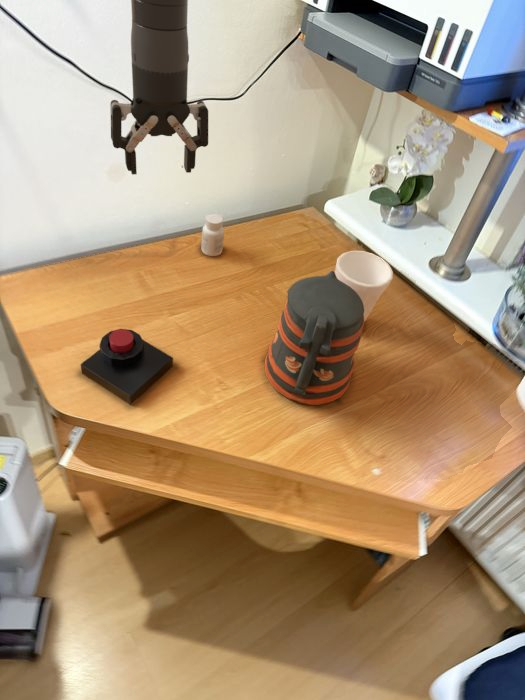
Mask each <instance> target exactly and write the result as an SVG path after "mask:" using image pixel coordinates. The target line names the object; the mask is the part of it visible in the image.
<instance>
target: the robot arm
mask: <svg viewBox="0 0 525 700" xmlns="http://www.w3.org/2000/svg"><path fill="white" fill-rule="evenodd" d="M130 3H131V31H130V54H131V77H132V100H131V102H130V103H122V102H119V101H118V100H117V99H112V100H111V101H110V139H111V141H112V146H113V148H115V149H122V150H124V159H125V160H124V161H125V166H126V169H127V171H128V172H130V173H131V175H133V176H134V175H137V152H136V148H137V147H138V145H139V144H140V143H142V142H143V141H144V140H145V138H146V137H147V136H148V135H150V136H151V137H159V136H164V137H173V135H175V134H177V135H178V137H179V139H180V140H181V141H182V142H183V143H184V147H183V148H184V151H183V152H184V153H183V168H184V171H185V173H186V174H187V173H189V174H190V173H192V170H194V169H195V167H196V158H197V157H196V153H197V149H198V148H201V147H203V148H206V147H207V146H209V109H208V107H207V106H206V105H207V104H205V102H204V101H203V100H198V101H197V102H196V103H190V104H189V103H188V79H189V78H188V77H189V76H188V74H189V73H188V71H189V61H190V55H189V35H188V34H189V33H188V13H189V11H188V9H189V7H188V5H189V0H130ZM129 114H131V115H132V117H133V118H134V119H135V121H134V122H133V123H132V125H131V127H130V130H129V131H128V132H127V134H126V136H123V135H122V121H126V119H127V116H128V115H129ZM190 115H192V117H193V119H194V120H195V121H196V134H195V135H193V136H192V135H191V134H190V132H189V131H188V130H187V128H186V126H185V125H184V123H185V122H186V120H187V119H188V117H189V116H190Z"/></svg>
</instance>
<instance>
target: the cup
mask: <svg viewBox="0 0 525 700" xmlns="http://www.w3.org/2000/svg"><path fill="white" fill-rule="evenodd" d="M334 272H335V275H336V277H337V279H338V280H340V281H341V282H343V283H345V284H346V285H348V286H349V287H351V288H352V289H353V290H354V291H356V293H357V294H358V295H359V296H360V298H361V300H362V302H363V305H364V320H365V321H364V323H365V322H366V320H367V319H368V317H369V315H370V314H371V312H372V311H373V309H374V307H375V306H376V304H377V302H378V300H379V299H380V297H381V295H382V294H383V293H384V291H386V290H387V288H388V287H389V286H390V284H391V282H392V281H393V277H394V271H393V269H392V267H391V266H390V264H389V263H388V262H387V261H386V260H384V259H383V258H382V257H381V256H378V255H377V254H375V253H371V252H368V251H364V250H350V251H346V252H343V253H342V254H340V255H339V256H338V257H337V259H336V264H335V268H334Z"/></svg>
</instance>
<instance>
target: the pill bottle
mask: <svg viewBox="0 0 525 700" xmlns="http://www.w3.org/2000/svg"><path fill="white" fill-rule="evenodd" d="M223 225H224V218H223V217H222V216H221V215H220V214H218V213H209V214H207V215H206V216H205V221H204V225H203V227H202V229H201V232H202V233H201V246H200V248H201V249H200V250H201V252H202V253H203V255H205V256H208V257H218V256H220V255H221V254H222V252H223V248H224V240H225V239H224V238H225V229H224V226H223Z"/></svg>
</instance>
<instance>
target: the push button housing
mask: <svg viewBox="0 0 525 700" xmlns="http://www.w3.org/2000/svg"><path fill="white" fill-rule="evenodd" d="M121 329H123V330H127V331H130V332H131V333H132V335H133V341H134V346H133V348H132V350H131V351H129V352H127V353H123V354H121V353H116V352H114V351H112V349H111V348H110V341H109V337H110V335H111V333H112V332H114V331H116V330H121ZM173 366H174V358H173V356H171V355H169V354H167V353H166V352H164V351H163V350H161V349H160V348H158V347H156V346H154V345H152V344H151V343H149V342H147V341H146V340H144V339H143V338H142V336H141V335H140V333H138V332H136V331H134V330H133V329H127V328H119V329H114V330H110V331H108V332H107V333H106V334H104V335H103V336H102V337H101V340H100V342H99V349H98V350H97V351H96V352H95V353H93V354H92V355H91V356H90V357H87V358H86V359H85V360H84V361H83V362H81V363H80V369H81V374H82V375H83V376H85V377H87V378H88V379H90V380H91V381H93V382H95V383H96V384H97V385H99V386H100V387H102V388H104V389H105V390H107V391H108V392H110V393H111V394H113V395H114V396H116V397H118V398H119V399H121V400H122V401H124V402H125V403H127V404H129V406H131V405H133V404H134V403H135V402H136V401H137V400H138V399H139V398H140V397H142V395H144V394H145V393H146V392H147V391H148V390H149V389H150V388H151V387H152V386H153V385H155V384H156V383H157V382H158V381H159V380H160V379H161V378H162V377H163V376H165V374H166V373H168V372H169V371H170V370H171V369H172V368H173Z"/></svg>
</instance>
